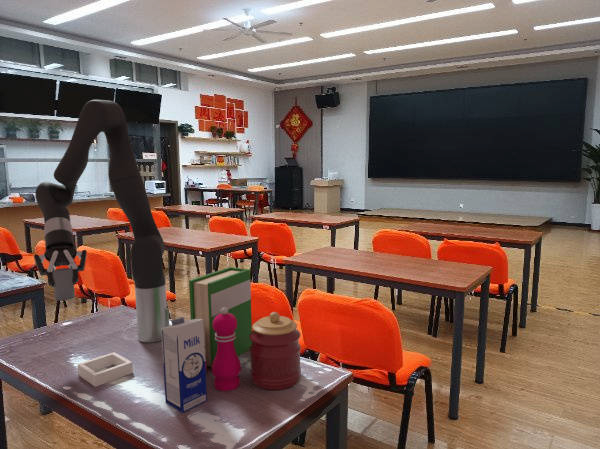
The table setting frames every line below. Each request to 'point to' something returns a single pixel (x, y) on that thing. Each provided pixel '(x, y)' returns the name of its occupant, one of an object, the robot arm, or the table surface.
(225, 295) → the hardback book
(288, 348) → the canister
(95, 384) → the socket
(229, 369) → the pepper mill
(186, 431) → the table surface
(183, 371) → the milk carton
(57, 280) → the peg
